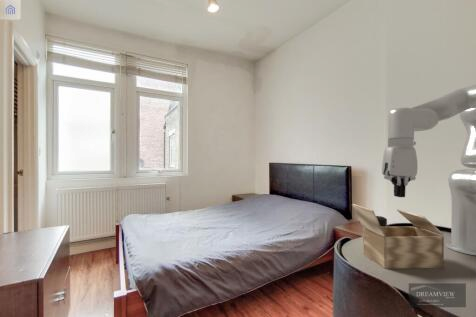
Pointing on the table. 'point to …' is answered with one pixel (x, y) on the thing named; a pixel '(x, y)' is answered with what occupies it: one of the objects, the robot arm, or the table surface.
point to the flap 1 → (368, 219)
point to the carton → (404, 248)
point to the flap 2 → (420, 221)
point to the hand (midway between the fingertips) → (399, 196)
